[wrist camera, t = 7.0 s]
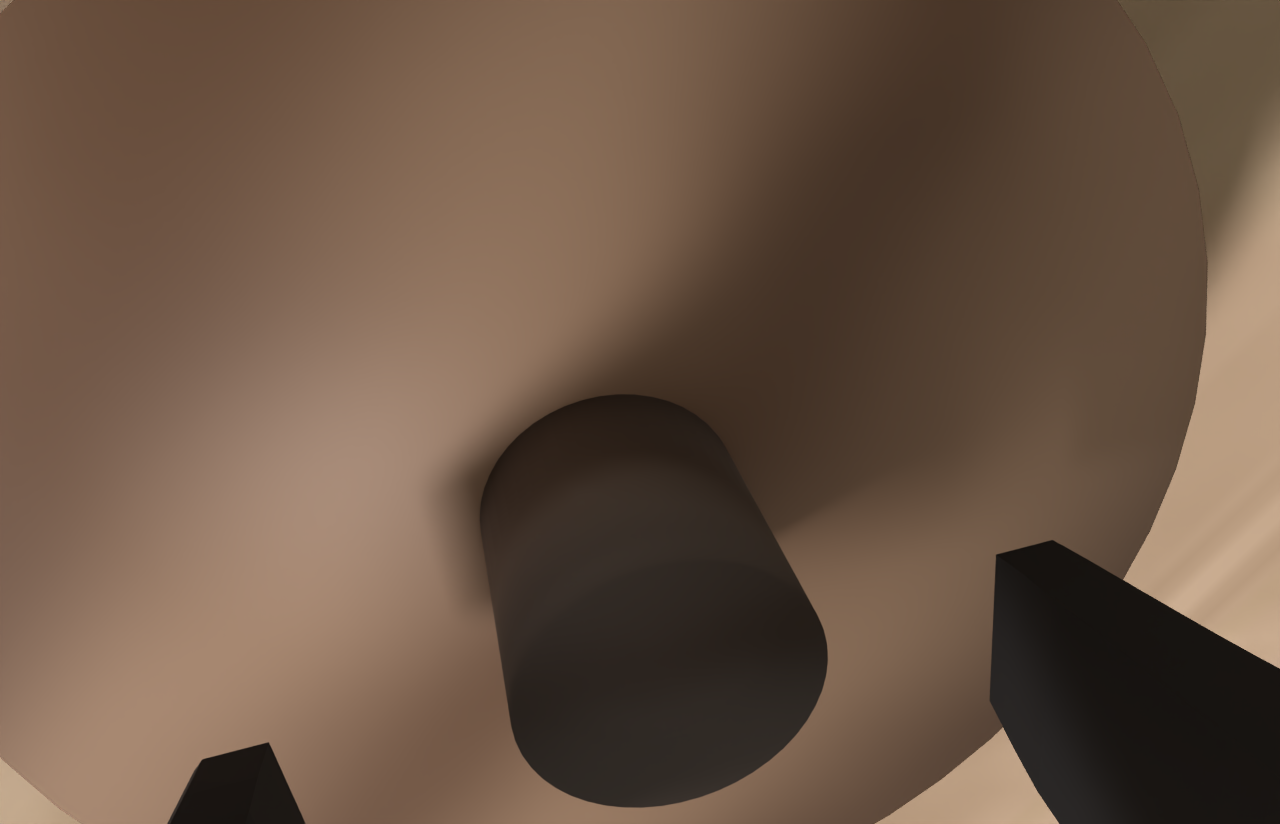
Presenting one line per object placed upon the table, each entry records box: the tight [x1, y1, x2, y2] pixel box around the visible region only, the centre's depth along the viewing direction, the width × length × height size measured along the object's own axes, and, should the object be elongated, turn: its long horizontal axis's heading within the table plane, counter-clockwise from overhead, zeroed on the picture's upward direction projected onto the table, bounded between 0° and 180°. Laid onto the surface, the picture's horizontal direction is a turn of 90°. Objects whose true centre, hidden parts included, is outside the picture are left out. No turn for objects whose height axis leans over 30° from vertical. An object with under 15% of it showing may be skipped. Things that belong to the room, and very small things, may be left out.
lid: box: [0, 0, 1207, 824], centre depth 12 cm, size 15×15×4 cm
